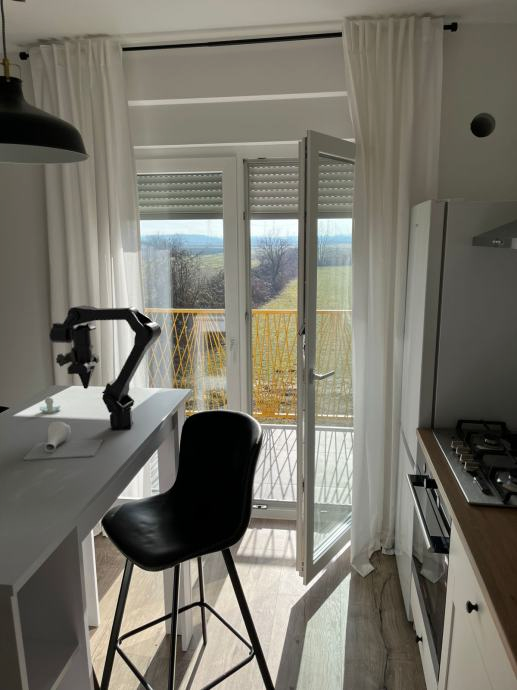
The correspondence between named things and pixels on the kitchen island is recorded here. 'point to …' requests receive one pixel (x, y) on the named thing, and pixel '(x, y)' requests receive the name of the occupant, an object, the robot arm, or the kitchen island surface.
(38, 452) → the mat
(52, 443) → the flask
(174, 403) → the kitchen island surface
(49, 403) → the pacifier
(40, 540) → the kitchen island surface
